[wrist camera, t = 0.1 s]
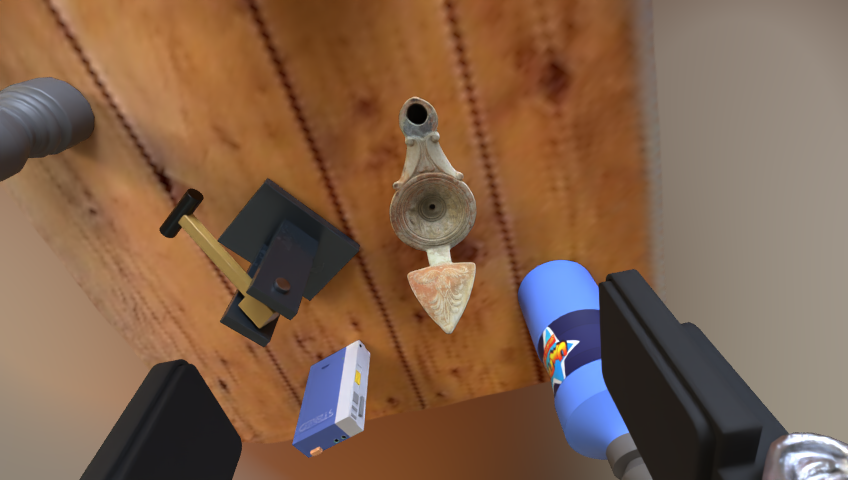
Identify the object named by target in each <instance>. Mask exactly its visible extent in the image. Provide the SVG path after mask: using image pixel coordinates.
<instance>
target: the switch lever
mask: <svg viewBox="0 0 848 480" xmlns="http://www.w3.org/2000/svg"><path fill="white" fill-rule="evenodd" d="M203 199H204V197H203V195H202V194H201V193H200V192H199V191H197V190H195V189H188V190H187V192H186V193H185V194H184V196H183V197H182V198H181V200H180V201H179V202H178V204H177V205H176V207H175V208H174V209H173V211H172V212H171V213H170V215H169V216H168V217H167V219H166V220H165V222H164V223H163V224H162V226H161V227H160V233H161V234H162V235H164V236H165V237H168V238H174V237H175V236H176V235H177V233H178V232H179V231H180V229H181V228H183V229H184V230H185V231H186V232H187V233H188V234H189V235H190V236H191V238H192V239H193V240H194V241H195V242H196V243H197V244H198V245H199V246H200V248H201V249H202V250H203V251H204V252H205V253H206V254H207V255H208V256H209V258H210V259H211V260H212V261H213V262H214V263H215V264H216V265H217V266H218V267H219V269H220V270H221V271H222V272H223V273H224V274H225V275H226V276H227V277H228V279H229V280H230V281H231V282H232V283H233V284H234V285H235V286H236V287H237V289H238V290H239V291H240V292H241V293H242V294H243V295H244V296H245V298H244V299H243V300H242V301H241V302H240V303H239V305H238V306H239V307H240V308H241V309H242V310H243V311H244V312H245V313H246V315H247V316H248V317H249V318H250V319H251V320H252V321H253V322H254V323H255V325H256V326H257V327H258V328H259V329H260V328H262V327H263V326H265V325H266V324H268V323H270V322H271V321H273V320H274V319H276V318H277V317H278V316H279V313H278V312H276V311H274V310H273V309H271V308H269V307H268V306H266V305H265V304H263V303H261V302H260V301H258V300H256V299H255V298H253V297H252V296H250V295H248V294H247V293H246V291H247V289H248V287H249V285H250V283H251V281H252V279H251V278H250V276H249V275H248V274H247V273H246V272H245V271H244V270H243V269H242V268H241V267H240V265H239V264H238V263H237V262H236V261H235V260H234V259H233V258H232V257H231V256H230V254H229V253H228V252H227V251H226V250H225V249H224V248H223V247H222V246H221V244H220V243H219V242H218V241H217V240H216V239H215V238H214V237H213V236H212V235H211V233H210V232H209V231H208V230H207V229H206V228H205V227H204V226H203V225H202V224H201V222H200V221H199V220H198V219H197V218H196V217H195V216H194V215H193V212H194V211H195V210H196V208H197V207H198V206H199V204H200V203H201V202H202V200H203Z"/></svg>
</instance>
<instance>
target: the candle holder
mask: <svg viewBox="0 0 848 480" xmlns="http://www.w3.org/2000/svg"><path fill="white" fill-rule="evenodd" d="M93 129H94V115H93V112H92V109H91V107H90V104H89V103H88V101H87V100H86V99H85V98H84V97H83V95H82V94H81V93H80V92H79V91H78V90H77V89H75V88H74V87H72V86H71V85H69V84H68V83H66V82H64V81H61V80H58V79H55V78H52V77H47V78H35V79H32V80H28V81H24V82H21V83H17V84H13V85H10V86H8V87H7V88H5V89H3V90H2V91H0V181H3V180H5V179H7V178H9V177H11V176H13V175H15V174H17V173H18V172H20V171H21V170H22V168H23V167H24V165H25V163H26V161H27V160H28V158H41V157H45V156H47V155H53V154H58V153H60V152H62V151H64V150H66V149H68V148H70V147H72V146H74V145H76V144H78V143H80V142H82V141H84V140H86V139H87V138H89V136H90V134H91V133H92V131H93Z"/></svg>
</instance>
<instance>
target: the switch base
mask: <svg viewBox="0 0 848 480" xmlns="http://www.w3.org/2000/svg"><path fill="white" fill-rule="evenodd" d="M218 242H219V243H221V244H223V245H224V246H226V247H227V248H229V249H230V250H232V251H233V252H235V253H236V254H238V255H240V256H241V257H243V258H244V259H246V260H247V261H249V262H250V263H251V264H250V266H249V268H248V270H247V272H246V273H247V274H248V275H249V276H250V278H251V279H252V281H251V283H250V285H249V287H248V289H247V291H246V293H247V294H248V295H250V296H252V297H253V298H255V299H256V300H258V301H260V302H261V303H263V304H265V305H266V306H268V307H269V308H271V309H273V310H274V311H276V312H278V313H279V316H280V314H281V315H282V316H284V317H286V318H287V319H289V320H291V319H292V318H293V317H294V316H295V315H296V314H297V312H298V309H299V306H300V303H301V299H302V296H303V297H305V298H306V299H308V300H309V301H311V299H312V298H313V297H314V296H315V295H316V294H317V293H318V292H319V291H320V290H321V289H322V288H323V287H324V286H325V285H326V284H327V283H328V282H329V281H330V280H331V279H332V278H333V277H334V276H335V275H336V274H337V273H338V272H339V271H340V270H341V269H342V268H343V267H344V266H345V265H346V264H347V263H348V262H349V261H350V260H351V259H352V258H353V257H354V256H355V255H356V254H357V253H358V251H359V248H360V245H359V244H357V243H356V242H354V241H353V240H352V239H350V238H349V237H348V236H346V235H345V234H344V233H342V232H341V231H339V230H338V229H337V228H335V227H334V226H333V225H331V224H330V223H328V222H327V221H326V220H324V219H323V218H322V217H320V216H319V215H318V214H316V213H315V212H313V211H312V210H311V209H309V208H308V207H307V206H305V205H304V204H303V203H301V202H300V201H298V200H297V199H296V198H294V197H293V196H292V195H290V194H289V193H288V192H286V191H285V190H283V189H282V188H281V187H279V186H278V185H277V184H275V183H274V182H273V181H271V180H270V179H268V178H267V179H266V181H265V182H264V183H263V184H262V186H261V187H260V188H259V189H258V190H257V192H256V193H255V194H254V195H253V197H252V198H251V199H250V200H249V202H248V203H247V204H246V205H245V207H244V208H243V209H242V210H241V211H240V213H239V214H238V215H237V216H236V218H235V219H234V220H233V221H232V223H231V224H230V225H229V226H228V228H227V229H226V230H225V231H224V232H223V234H222V235H221V236H220V238H219V239H218ZM244 298H245V296H244V295H243V294H242V293H241V292H240V291H239V290H238V289H237V290H236V292H235V294H234V296H233V298H232V300H231V302H230V304H229V305H228V307H227V309H226V311H225V313H224V315H223V317H222V318H221V320H220V322H221V323H222V324H224V325H226V326H228V327H229V328H231V329H233V330H235V331H236V332H238V333H240V334H242V335H243V336H245V337H247V338H249V339H250V340H252V341H254V342H255V343H257V344H259V345H261V346H262V347H265V346H266V345H267V344H268V343H269V342H270V340H271V337H272V335H273V332H274V329H275V326H276V324H277V321H278V318H279V316H278V317H277V318H276V319H274V320H273V321H271V322H270V323H268V324H266V325H265V326H263V327H262V328H260V329H259V328H258V327H257V326H256V325H255V323H254V322H253V321H252V320H251V319H250V318H249V317H248V316H247V315H246V313H245V312H244V311H243V310H242V309H241V308H240V307H239V306H238V305H239V303H240V302H241V301H242V300H243V299H244Z"/></svg>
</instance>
